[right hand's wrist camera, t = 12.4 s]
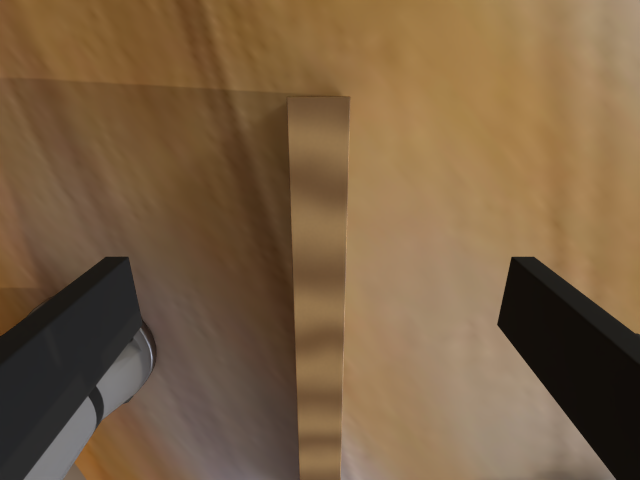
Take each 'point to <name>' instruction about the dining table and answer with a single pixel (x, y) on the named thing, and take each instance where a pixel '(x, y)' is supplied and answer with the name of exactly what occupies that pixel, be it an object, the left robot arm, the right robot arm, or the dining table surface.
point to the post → (319, 274)
